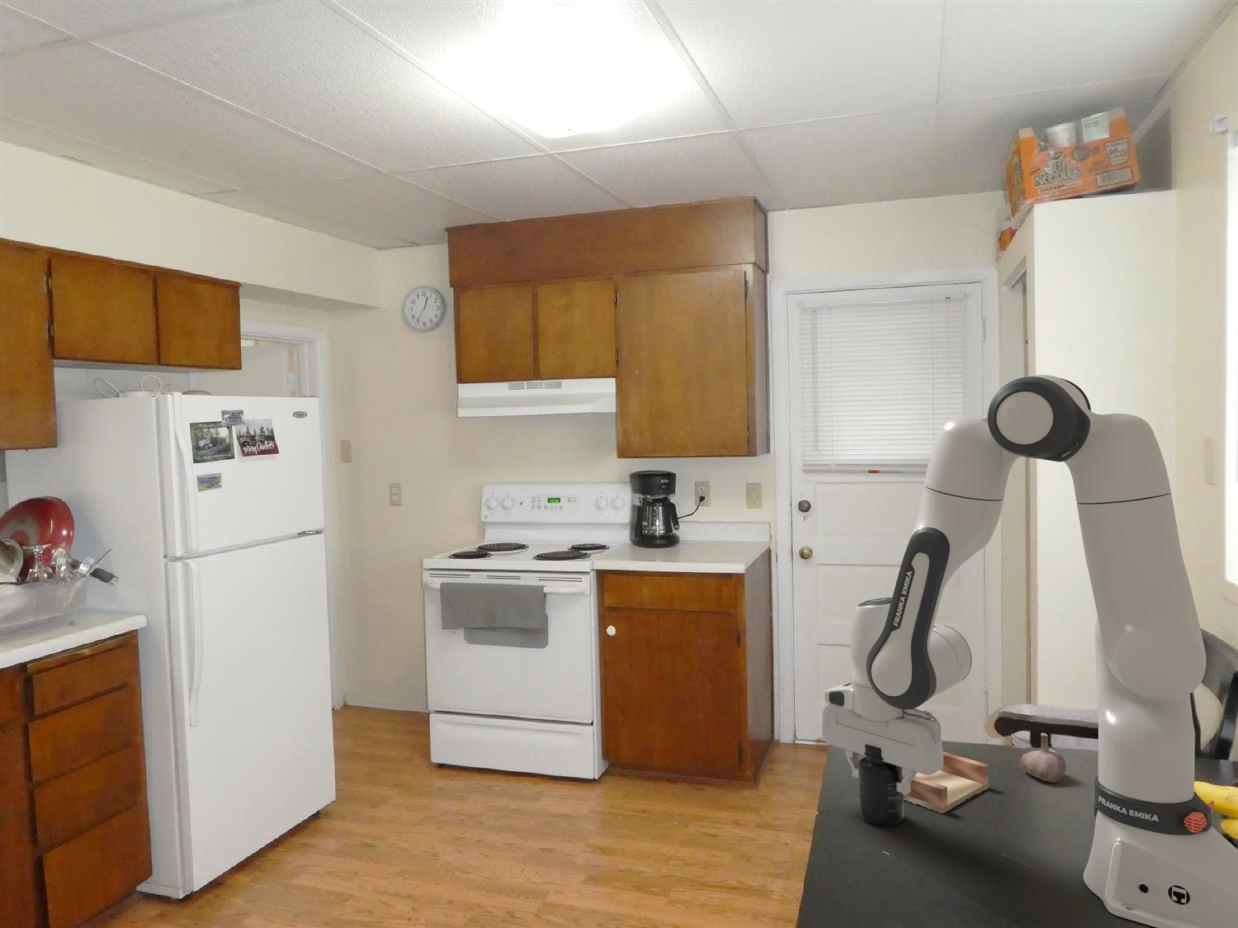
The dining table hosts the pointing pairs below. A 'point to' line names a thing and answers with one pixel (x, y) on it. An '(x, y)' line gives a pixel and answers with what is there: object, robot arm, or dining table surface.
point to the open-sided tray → (949, 783)
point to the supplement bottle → (879, 789)
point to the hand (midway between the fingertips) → (880, 785)
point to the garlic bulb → (1044, 762)
